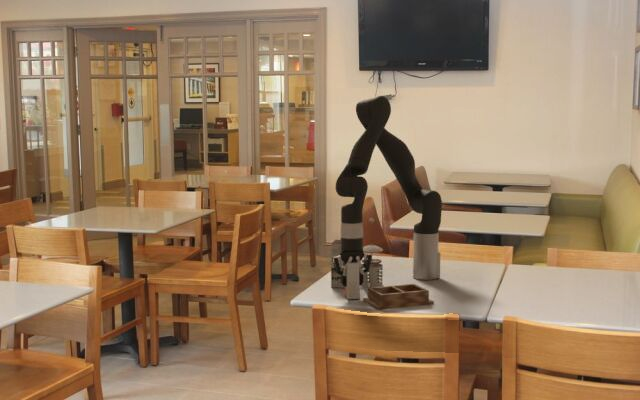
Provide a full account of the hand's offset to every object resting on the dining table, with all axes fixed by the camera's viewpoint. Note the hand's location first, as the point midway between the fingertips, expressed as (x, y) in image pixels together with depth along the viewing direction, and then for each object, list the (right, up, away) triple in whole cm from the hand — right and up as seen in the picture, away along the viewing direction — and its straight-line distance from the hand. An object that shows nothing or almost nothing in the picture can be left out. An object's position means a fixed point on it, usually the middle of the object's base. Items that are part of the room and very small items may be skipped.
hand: (352, 285), depth 257 cm
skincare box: (0, -4, +1) cm, 4 cm away
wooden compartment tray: (+15, -5, -6) cm, 17 cm away
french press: (+7, -3, +15) cm, 17 cm away
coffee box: (-3, -2, +20) cm, 20 cm away
